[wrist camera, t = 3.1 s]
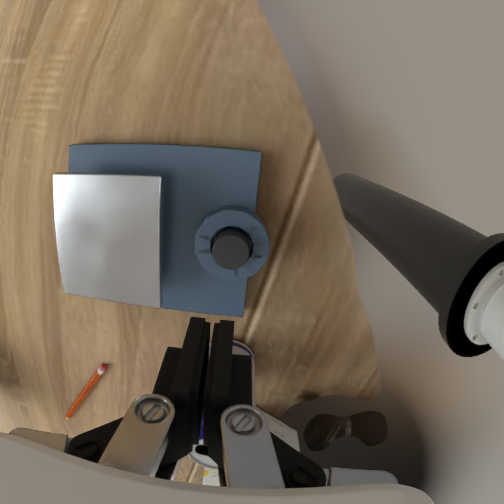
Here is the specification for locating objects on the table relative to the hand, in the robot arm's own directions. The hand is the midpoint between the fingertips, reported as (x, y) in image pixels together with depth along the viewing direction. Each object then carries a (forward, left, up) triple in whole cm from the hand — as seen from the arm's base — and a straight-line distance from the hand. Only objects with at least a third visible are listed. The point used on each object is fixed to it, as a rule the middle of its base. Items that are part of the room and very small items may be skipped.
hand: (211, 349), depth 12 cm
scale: (+6, 0, -15) cm, 16 cm away
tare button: (0, 0, -12) cm, 12 cm away
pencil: (+18, +24, -15) cm, 34 cm away
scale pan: (+9, 0, -11) cm, 14 cm away
